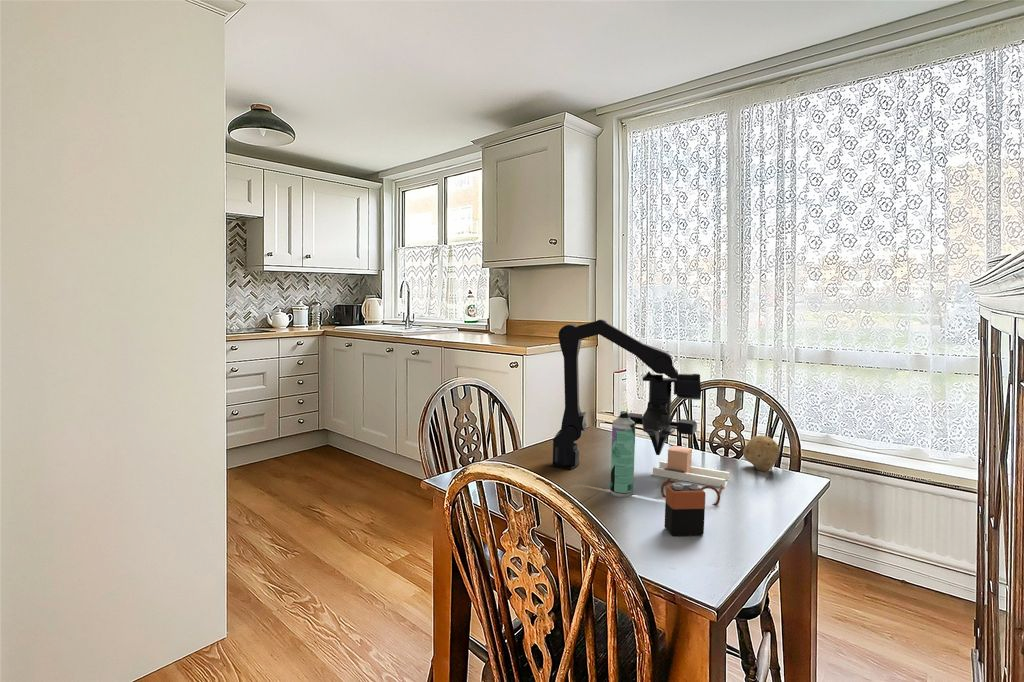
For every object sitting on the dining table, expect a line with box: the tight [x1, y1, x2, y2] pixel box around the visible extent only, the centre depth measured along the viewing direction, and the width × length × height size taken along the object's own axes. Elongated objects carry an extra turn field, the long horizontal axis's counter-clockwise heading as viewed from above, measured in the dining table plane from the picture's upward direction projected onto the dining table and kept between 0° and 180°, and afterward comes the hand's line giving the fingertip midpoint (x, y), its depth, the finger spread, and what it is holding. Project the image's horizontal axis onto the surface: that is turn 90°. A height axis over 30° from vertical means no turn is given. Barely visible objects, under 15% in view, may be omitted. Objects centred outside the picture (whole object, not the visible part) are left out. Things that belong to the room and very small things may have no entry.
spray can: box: [609, 410, 636, 498], centre depth 132 cm, size 6×6×20 cm
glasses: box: [660, 478, 723, 506], centre depth 133 cm, size 13×13×5 cm
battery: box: [664, 482, 706, 537], centre depth 111 cm, size 4×7×10 cm, turn 95°
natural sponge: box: [742, 434, 780, 472], centre depth 151 cm, size 9×9×10 cm
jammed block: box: [667, 445, 693, 473], centre depth 145 cm, size 5×5×7 cm
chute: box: [652, 460, 731, 489], centre depth 144 cm, size 18×7×3 cm, turn 60°
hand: (658, 454), depth 148 cm, fingers closed
